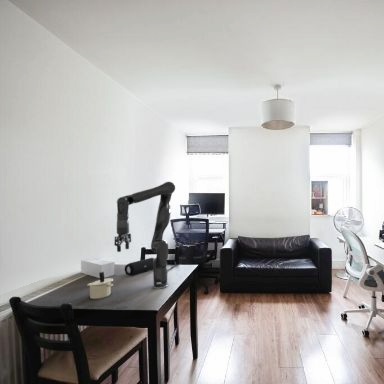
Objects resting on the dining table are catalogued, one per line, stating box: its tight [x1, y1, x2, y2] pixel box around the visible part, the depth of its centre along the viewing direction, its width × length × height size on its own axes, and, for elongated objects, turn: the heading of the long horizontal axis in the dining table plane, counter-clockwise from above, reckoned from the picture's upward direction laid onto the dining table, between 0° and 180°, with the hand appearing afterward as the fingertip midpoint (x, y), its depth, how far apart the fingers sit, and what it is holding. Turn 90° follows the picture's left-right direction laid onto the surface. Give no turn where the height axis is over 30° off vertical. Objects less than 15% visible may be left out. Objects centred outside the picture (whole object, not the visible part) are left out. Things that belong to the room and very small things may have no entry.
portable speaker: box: [124, 257, 155, 276], centre depth 224 cm, size 26×10×10 cm, turn 148°
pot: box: [87, 282, 114, 300], centre depth 172 cm, size 11×17×8 cm
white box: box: [80, 257, 115, 279], centre depth 221 cm, size 32×11×11 cm, turn 58°
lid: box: [91, 272, 114, 286], centre depth 172 cm, size 12×12×7 cm
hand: (123, 250), depth 178 cm, fingers open, 8 cm apart
